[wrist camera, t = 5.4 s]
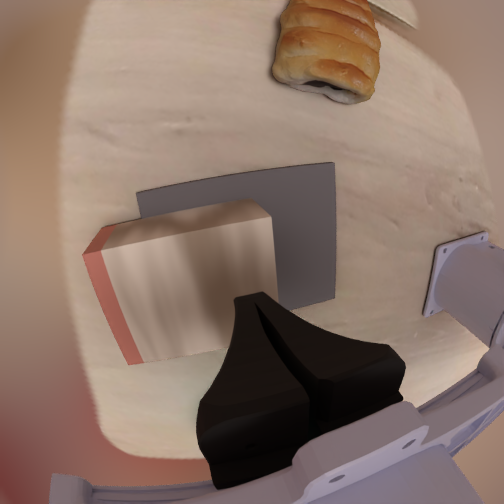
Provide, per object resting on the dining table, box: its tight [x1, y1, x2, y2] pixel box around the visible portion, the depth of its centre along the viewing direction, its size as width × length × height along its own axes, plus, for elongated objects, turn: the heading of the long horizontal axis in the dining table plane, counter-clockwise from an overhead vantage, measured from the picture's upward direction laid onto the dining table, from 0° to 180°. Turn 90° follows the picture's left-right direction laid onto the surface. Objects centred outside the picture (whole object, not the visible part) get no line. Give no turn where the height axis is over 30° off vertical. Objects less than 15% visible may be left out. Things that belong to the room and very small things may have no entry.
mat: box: [136, 162, 336, 310], centre depth 19 cm, size 12×10×1 cm
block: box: [82, 198, 279, 365], centre depth 16 cm, size 4×7×9 cm
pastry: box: [272, 0, 381, 104], centre depth 13 cm, size 9×7×4 cm
